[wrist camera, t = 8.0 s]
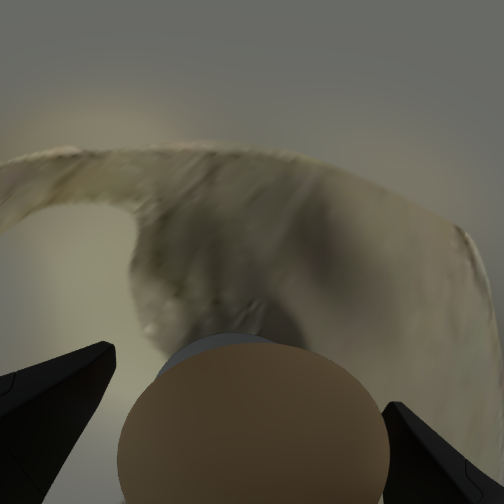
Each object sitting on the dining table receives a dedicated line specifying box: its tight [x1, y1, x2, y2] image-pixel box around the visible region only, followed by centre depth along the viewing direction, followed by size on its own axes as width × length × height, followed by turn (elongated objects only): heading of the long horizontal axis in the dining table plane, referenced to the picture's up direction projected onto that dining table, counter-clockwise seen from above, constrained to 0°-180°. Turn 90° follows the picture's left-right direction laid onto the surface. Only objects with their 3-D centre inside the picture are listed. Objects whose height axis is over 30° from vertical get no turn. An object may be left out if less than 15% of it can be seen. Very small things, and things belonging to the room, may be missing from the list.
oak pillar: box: [117, 343, 390, 504], centre depth 9 cm, size 4×4×12 cm
